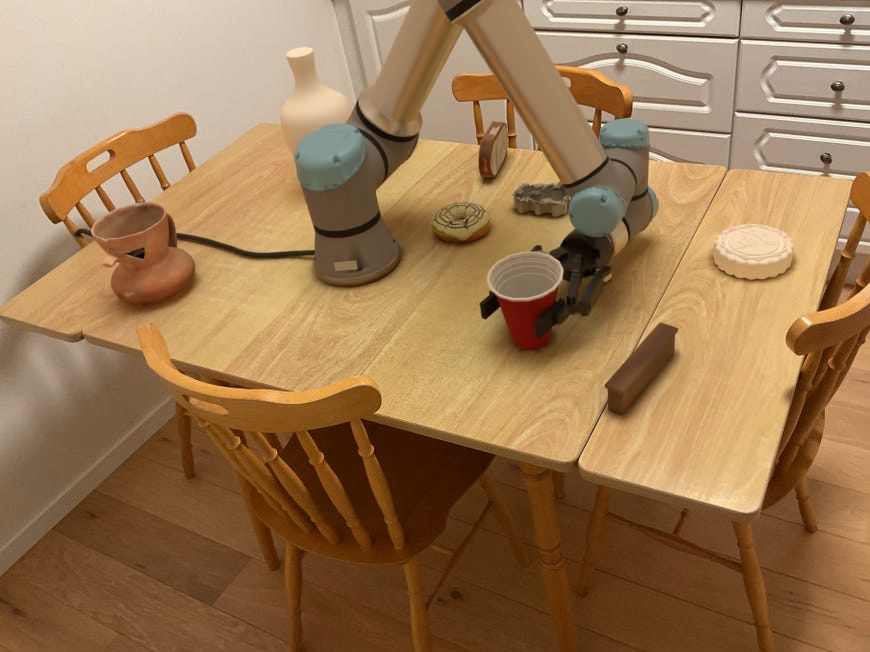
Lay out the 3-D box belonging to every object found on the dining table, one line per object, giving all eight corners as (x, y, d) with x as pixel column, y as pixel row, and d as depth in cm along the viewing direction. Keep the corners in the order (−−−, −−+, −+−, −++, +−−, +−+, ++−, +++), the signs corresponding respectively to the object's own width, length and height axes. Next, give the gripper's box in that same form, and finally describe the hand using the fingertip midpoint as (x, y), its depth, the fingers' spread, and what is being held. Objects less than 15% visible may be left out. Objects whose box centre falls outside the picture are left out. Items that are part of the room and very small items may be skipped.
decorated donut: (469, 251, 136) (466, 233, 134) (422, 238, 142) (418, 220, 139) (502, 223, 142) (499, 205, 140) (455, 212, 148) (452, 194, 145)
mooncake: (777, 235, 128) (780, 216, 126) (802, 275, 119) (806, 256, 117) (704, 244, 129) (706, 225, 127) (724, 284, 120) (726, 265, 118)
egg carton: (577, 200, 146) (576, 180, 143) (562, 220, 141) (561, 200, 138) (526, 193, 150) (524, 174, 147) (509, 212, 145) (507, 192, 143)
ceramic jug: (166, 320, 131) (132, 248, 122) (97, 313, 135) (60, 243, 126) (222, 261, 144) (195, 193, 135) (157, 257, 148) (127, 190, 139)
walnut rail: (605, 409, 102) (604, 384, 99) (659, 346, 110) (659, 321, 108) (623, 417, 101) (623, 391, 98) (677, 353, 109) (678, 327, 106)
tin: (497, 151, 166) (493, 114, 160) (511, 151, 165) (508, 113, 160) (479, 185, 155) (474, 146, 150) (494, 185, 154) (489, 146, 149)
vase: (288, 190, 164) (246, 57, 146) (342, 164, 170) (309, 33, 152) (325, 210, 155) (286, 70, 137) (382, 181, 161) (352, 44, 144)
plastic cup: (484, 356, 113) (474, 289, 106) (509, 313, 121) (501, 247, 113) (555, 368, 110) (549, 299, 102) (576, 322, 117) (573, 255, 109)
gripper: (654, 282, 118) (575, 366, 105) (538, 248, 129) (454, 320, 117) (656, 240, 113) (573, 322, 100) (535, 208, 124) (446, 278, 112)
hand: (509, 321), depth 109 cm, fingers closed on plastic cup, 9 cm apart
